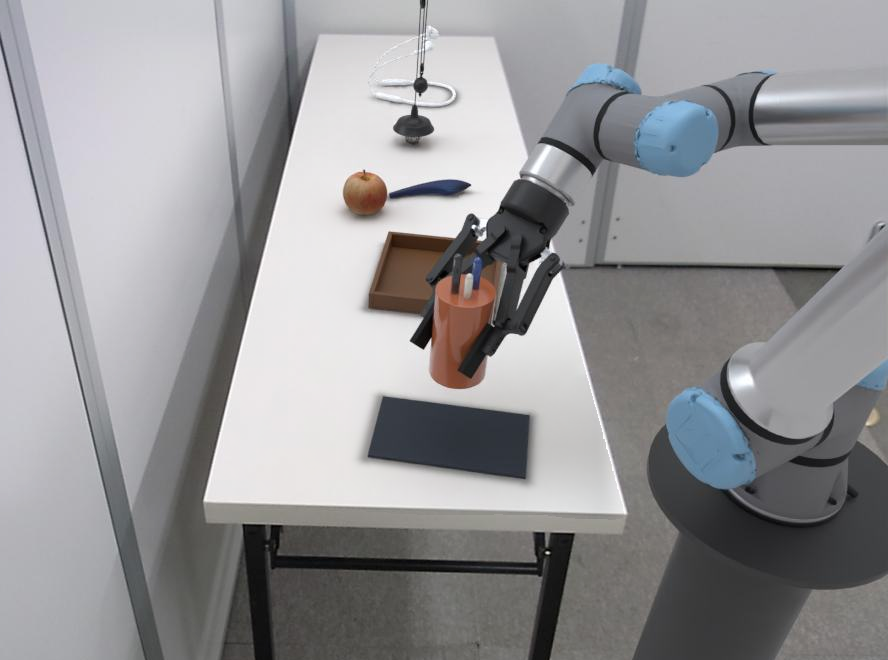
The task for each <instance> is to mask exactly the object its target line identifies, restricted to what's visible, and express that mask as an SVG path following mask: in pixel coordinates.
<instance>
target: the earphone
mask: <svg viewBox="0 0 888 660" xmlns="http://www.w3.org/2000/svg"><path fill="white" fill-rule="evenodd" d="M439 34H440V33H439V31H438V29H436V28H435V27H433V26H432V25H426V39H425V32H423V46H422V54H424V39H425V53H431V52H433V51H434V49H435V44H434V43H433V41H431V40H437V39H438V38H439ZM418 38H419V35H418V36H415V37H413V38H410V39H408V40H406V41H404V42H401V43H399V44H397V45H395V46H394V47H392V48H390V49H389V50H387V51H386V52H384V53H383V54H382V55H381V56H380V58H379V59H378V60H377V61H376V63H375V65H374V67H373V69H372V72H371V74H370V75H369V78H368V80H367V87H368V89H369V91H370V93H371V94H373V95H374V96H375V98H376V99H380V100H384V101H387V102H388V101H389V102H394V103H405V104H410V105H414V104H415V100H411V99H405V98H403V97H400V96H398V95H393V94H388V93H384V92H379V91H377V92H376V93H375V92H374V91H373V90H372V89H371V87H370V81H371V79H372V78H373V79H374V80H375V82H376V83H379V84H381V86H385V87H386V86H387V87H388V86H408V85H413V84H414V81H415V80H409V79H401V78H391V79H390V78H386V79H381V80H378V79H376V77H375V73H376V71H377V70H379V69H380V68H381V67H383V66H385V65H388V64H390V63H393V62H395V61H398V60H401V59H403V58H407V57H409V56H418V49H416V50H414V51H413V52H412V53H408V54H405V55H402V56H399V57H395V58H393V59H390V60H388V61H386V62H383V63H382V64H380V65H378V64H379V62H381V60H382V59H383V58H384V57H385V56H386V55H387V54H388V53H390V52H391V51H393V50H395V49H397V48H398V47H400V46H402V45H405V44H407V43H409V42H411V41H414V40H418ZM420 38H421V39H420ZM420 38H419V39H420V44H421V45H422V33H420ZM429 38H430V39H431V40H429ZM419 55H421V48H419ZM427 83H428V86H435V87H441V88H445V89H447V90H449V91H450V92H451V93H452V95H451V98H449V99H448V100H446V101H442V102H423V101H416V105H417V106H422V107H444V106H447V105H449V104H452V103H453V102H454V101H455V99H456V96H457V93H456V90H455V88H453V87H452V86H451V85H449V84H446V83H443V82H438V81H437V82H436V81H430V80H429V81H428V80H427Z"/></svg>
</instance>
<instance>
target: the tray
mask: <svg viewBox="0 0 888 660" xmlns="http://www.w3.org/2000/svg"><path fill="white" fill-rule="evenodd" d="M385 238H386V239H385V241H384V244H383V248H382V251H381V254H380V257H379V260H378V263H377V267H376V268H375V269H376V270H375V273H374V276H373V279H372V281H371V285H370V288H369V292H368V306H367V307H368V309H373V310H379V311H380V310H381V311H391V312H397V313H407V314H417V315H421V312H422V310H423V308H424V307H425V305H426V304H427V302H428V300H429V299H430V297H431V295H432V294H433V289H432V287H431V286H430V285H429V283H427V282H426V276H427V275H428V273H429V272H430V271H431V269H432V268H433V267H434V266H435V264H436V263H437V262H438V260H439V259H440V258H441V256H442V255H443V254H444V252H445V251H446V250H447V248H448V247H449V246H450V245H451V243H452V242H453V241H454V239H455V238H456V237H448V236H439V235H429V234H421V233H410V232H400V231H388V233H387V235H386V237H385ZM482 241H483V240H479V239H478V240H477V241H476V243H475V244H474V246H473V247H472V248H471V250H470V251H469V252H468V254H467V255H466V256H465V258H464V259H463V260H462V262H463V261H464V260H465V259H466V258H467V257H469V256H470V255H471V254H472V253H473V252H474V251H475V248H476V247H477V246H478V245H479V244H480V243H481V242H482ZM486 253H488V251H487V252H486ZM502 263H503V262H499V261H497V260H496V261H495V262H494V263H493V264H491V265H488V266H486V267H485V268H484V269H483V270H482V271H481V278H483V279H485V280H487V281H489V282H490V283H491V284H492V285H493V286H494V288H495V290H496V298H495V306H494V313H493V321H495V319H496V313H497V303H498V295H499V288H500V287H499V286H500V279H501V271H502Z"/></svg>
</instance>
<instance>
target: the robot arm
mask: <svg viewBox="0 0 888 660" xmlns="http://www.w3.org/2000/svg"><path fill="white" fill-rule="evenodd" d="M642 93H643V92H642V88H641V86H640V84H639V83H638V81H637V80H635V78H633V77H632V76H631V75H630V74H629V73H628V72H625V71H624V70H623V69H620V68H615V67H613V66H612V65H610V64H607V63H601V62H597V63H593V64H590V65H588V66H587V67H585V69H584V70H583V71H582V73H581V74H580V75H579V77H578V78H577V80H576V81H575V83H574V84H573V85H572V86H571V88H570V89H568V91H567V93H566V95H565V97H564V99H563V101H562V103H561V104H560V105H559V108H558V109H557V111H556V112H555V114H554V115H553V118H552V119H551V121H550V122H549V124H548V125H547V128H546V129H545V131H544V132H543V134H542V135H541V137H540V139H539V141H538V142H537V144H536V145H535V146H534V148H533V149H532V151H531V152H530V154H529V156H528V157H527V159H526V161H525V163H524V164H523V165H522V167H521V169H520V170H519V171H518V174H519V178H518V179H515V180H513V182H512V183H511V185H510V187H509V188H508V190H507V192H506V193H505V194H504V196H503V198H502V199H501V201H500V204H499V206H498V210H497V212H495V214H493V215H491V216H490V217H489V218H488V219H487V218H481V217H477V216H476V215H475V214H474V213H472V212H471V213H469V214H467V215H466V217H465V219H464V222H463V224H462V227H461V230H460V231H459V233H458V234H457V235H456V237H454V238H455V239H454V241H453V242H452V243H451V245H450V246H449V247H448V248H447V250H446V251H445V252H444V254H443V255H442V256H441V258H440V259H439V260H438V262H437V263H436V264H435V266H434V267H433V268H432V269H431V271H430V272H429V273H428V275H427V276H426V282H427V283H429V285H430V286H431V287H432V289H433V294H432V295H431V297H430V299H429V300H428V302H427V304H426V305H425V307H424V308H423V310H422V312H421V314H420V316H421V317H422V320H421V322H420V323H419V324H418V326H417V328H416V329H415V331H414V333H413V335H411V337H410V339H409V342H410V343H412V344H413V345H414V346H416V347H418V348H419V349H421V350H422V351H424V350H425V349H426V348H427V346H428V344H429V343H430V342H431V337H432V325H433V313H434V301H435V289H436V285H437V284H438V282H439V281H440V280H442V279H444V278H446V277H448V276H452V271H453V261H454V256H455V255H456V254H461V255H462V257H463V259H464V258H465V256H466V255H467V254H468V252H469V251H470V250H471V248H472V247H473V246H474V244H475V243H476V241H477V240H479V237H480V238H481V237H483V236H484V233H485V236H486V237H485V238H484V239H483V240H481V241H482V242H481V243H480V244H479V245H478V246H477V247H476V248H475V251H474V252H473V253H472V254H471V255H470V256H469V257H467V258H466V259H465V260H464V261H463V262H462V270H461V274H468V273H471V274H472V271H473V262H474V259H475V258H476V257H480V258H481V259H482V270H483V269H484V268H485V267H486V266H488V265H491V264H493V263H494V262H495V261H496V260H497V261H499V262H502V263H503V264H506V266H505V270H506V274H505V279H504V283H503V286H502V290H501V294H500V298H499V303H498V307H497V310H496V314H495V319H494V321H493V320H492V325H490V324H489V323H486V325H485V327H484V328H483V330H482V331H481V333H480V335H479V336H478V338H477V339H476V341H475V342H474V344H473V346H472V347H471V349H470V350H469V352H468V354H467V355H466V357H465V358H464V360H463V362H462V363H461V365H460V366H459V368H458V370H457V371H459V372H460V373H462V374H464V375H465V376H467V377H468V378H470V379H472V377H473V376H474V374H475V372H476V371H477V369H478V368H479V366H480V364H481V363H482V361H483V360H484V358H485V356H486V355H488V357H490V358H491V357H493V356H494V355H495V354H496V352H497V351H498V349H499V347H500V346H501V345H502V343H503V342H504V340H505V339H506V337H507V336H508V335H518V336H521V337H523V336H525V335H527V333H528V331H529V329H530V327H531V325H532V322H533V320H534V318H535V317H536V314H537V312H538V310H539V308H540V306H541V305H542V302H543V301H544V298H545V296H546V294H547V292H548V290H549V288H550V286H551V284H552V281H553V280H554V279H555V278H556V277H557V275H558V274H559V273H560V272H561V271H562V270H563V269H564V268H565V266H566V264H565V261H564V260H563V259H562V258H561V257H560V256H559V255H558V253H556V252H553V251H551V249H550V245H551V242H552V239H553V238H554V237H556V235H557V234H558V232H559V231H560V229H561V227H562V226H563V224H564V223H565V221H566V220H567V218H568V216H569V214H570V209H569V207H574V206H575V205H576V203H577V202H578V200H579V198H580V197H581V196H582V193H583V192H584V191H585V190H586V187H587V186H588V184H589V182H590V181H591V179H592V178H593V177H594V175H595V174H596V172H597V170H598V168H599V167H600V165H601V164H602V163H603V161H604V160H605V161H607V162H608V161H609V162H612V163H617V164H621V165H625V166H628V167H631V168H636V169H639V170H643V171H646V172H648V173H651V174H653V175H658V176H663V177H664V176H665V177H666V176H667V177H668V176H669V177H675V178H687V177H691V176H693V175H696V174H697V173H698V172H699V171H700V170H701V168H702V167H703V166H705V165H707V164H708V163H709V161H710V160H711V158H712V157H713V155H714V154H717V153H719V152H722V151H725V150H729V149H733V148H737V147H764V146H765V147H768V146H769V147H770V146H888V63H884V64H873V65H862V66H849V67H836V68H825V69H812V70H810V69H809V70H799V71H787V72H777V71H774V70H771V69H770V70H769V69H765V70H753V71H747V72H742V73H739V74H737V75H735V76H732V77H729V78H726V79H722V80H718V81H715V82H711V83H707V84H702V85H699V86H695V87H690V88H686V89H682V90H679V91H675V92H672V93H667V94H664V95H659V96H658V95H655V96H654V95H646V94H642ZM487 251H488V253H486V252H487ZM537 260H539V262H538V267H537V268H536V270H535V271H534V274H533V275H532V278H531V280H530V282H529V284H528V286H527V288H526V290H525V292H524V294H523V296H522V298H521V292H522V289H523V285H524V281H525V280H526V278H527V275H528V271H529V269H530V268H529V267H530V264H532V263H533V262H535V261H537ZM482 270H481V271H482ZM520 298H521V300H520ZM519 301H520V302H519ZM887 382H888V223H886V225H884V226H883V227H882V229H880V230H879V231H878V232H877V233H876V234H875V235H874V236H873V237H872V238H871V239H870V240H869V241H868V242H867V243H866V244H865V245H864V246H863V247H862V248H861V249H860V250H858V252H857V253H856V254H855V255H854V256H853V257H852V258H851V259H850V260H848V262H846V264H845V265H843V267H841V269H839V271H837V272H836V273H835V275H833V276H832V277H831V278H830V279H829V280H828V281H827V282H826V283H825V284H824V285H823V286H822V287H821V288H820V289H819V290H818V291H817V292H816V293H815V294H814V295H813V296H812V297H811V298H809V300H808V301H807V302H806V303H805V304H804V305H803V306H802V307H800V309H799V310H798V311H797V312H796V313H795V314H794V315H793V316H791V318H789V320H787V322H785V323H784V325H782V326H781V328H779V329H778V330H777V332H775V333H774V334H773V335H772V336H771V337H770V338H769V339H768V340H767V341H757V342H750V343H747V344H745V345H743V346H741V347H740V348H739V349H737V350H736V351H735V352H734V353H733V354H732V355H731V356H730V357H728V359H727V360H725V362H724V363H722V365H721V366H720V367H719V368H717V370H716V371H715V372H714V373H713V374H712V375H711V376H710V377H708V378H707V379H706V380H704V381H703V382H701V383H699V384H698V385H696V386H690V387H687V388H684V389H683V390H682V392H681V393H679V394H677V395H676V396H675V397H673V399H672V400H671V401H670V403H669V405H668V407H667V410H666V415H665V424H666V427H667V430H668V433H669V436H668V437H669V440H670V443H671V445H672V447H673V449H674V451H675V453H676V455H677V457H678V458H679V460H680V461H681V462H682V464H683V465H684V466H685V467H686V469H687V470H688V471H689V472H690V473H691V474H692V475H694V476H695V477H696V478H697V479H699V480H700V481H701V482H703V483H706V484H709V485H711V486H712V487H714V488H718V489H722V490H723V491H724V493H725V494H726V495H727V496H728V497H729V498H730V499H731V500H732V501H733V502H734V503H735V504H736V505H737V506H739V507H740V508H742V509H743V510H744V511H746V512H748V513H749V514H751V515H753V516H755V517H757V518H759V519H762V520H764V521H767V522H770V523H773V524H777V525H781V526H786V527H795V528H807V527H814V526H819V525H822V524H825V523H827V522H829V521H830V520H832V519H833V518H834V517H835V516H836V515H837V514H838V513H839V511H840V509H841V507H842V505H843V503H844V501H845V498H846V494H849V495H850V496H851V497H852V498H856V497H857V496H858V495H859V492H857V491H856V490H855V489H854V488H852V487H851V486H850V485H849V484H848V483H847V482H848V457H849V454H850V453H851V451H852V449H853V447H854V445H855V443H856V441H858V440H859V437H860V435H861V434H862V431H863V429H864V428H865V425H866V424H867V423H868V420H869V418H870V416H871V414H872V412H873V411H874V409H875V406H876V404H877V402H878V400H879V398H880V397H881V395H882V393H883V391H884V390H885V389H886V388H887V385H888V384H887Z"/></svg>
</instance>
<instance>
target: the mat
mask: <svg viewBox="0 0 888 660" xmlns="http://www.w3.org/2000/svg"><path fill="white" fill-rule="evenodd" d="M375 421H376V422H375V424H374V425H375V426H374V429H373V434H372V437H371V441H370V443H369V444H370V445H369V449H368V452H367V457H368V458H371V459H379V460H387V461H392V462H393V461H394V462H399V463H408V464H415V465H422V466H429V467H438V468H444V469H451V470H458V471H464V472H465V471H466V472H471V473H472V472H473V473H481V474H486V475H492V476H493V475H495V476H502V477H509V478H516V479H523V480H526V478H527V462H528V448H529V447H528V445H529V430H530V429H529V428H530V414H524V413H517V412H510V411H502V410H493V409H487V408H478V407H470V406H464V405H455V404H447V403H439V402H432V401H424V400H415V399H408V398H400V397H393V396H385V395H383V396H382V398H381V402H380V406H379V410H378V413H377V418H376V420H375Z"/></svg>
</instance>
